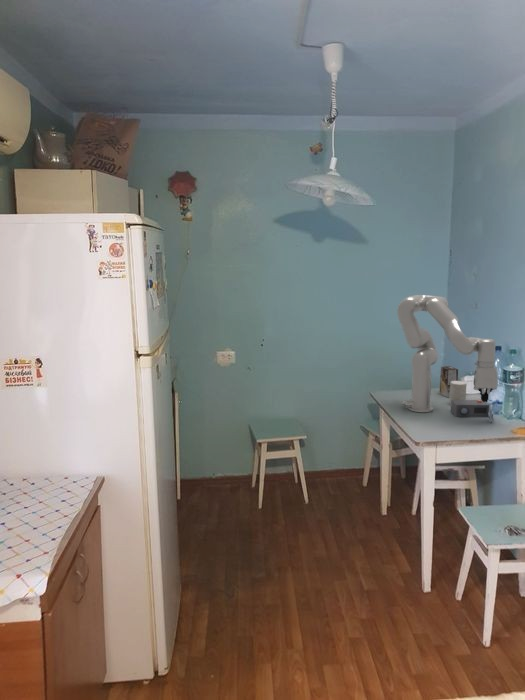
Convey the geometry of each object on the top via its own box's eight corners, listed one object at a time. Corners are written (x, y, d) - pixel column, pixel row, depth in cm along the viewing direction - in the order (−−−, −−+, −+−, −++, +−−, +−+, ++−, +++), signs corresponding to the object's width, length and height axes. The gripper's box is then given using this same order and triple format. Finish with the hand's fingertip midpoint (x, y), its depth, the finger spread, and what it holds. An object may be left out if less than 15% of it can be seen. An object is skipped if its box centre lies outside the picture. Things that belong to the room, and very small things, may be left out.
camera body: (456, 417, 263) (457, 404, 261) (450, 410, 273) (451, 398, 272) (489, 417, 262) (490, 404, 260) (482, 411, 272) (483, 398, 271)
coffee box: (457, 396, 299) (458, 369, 296) (446, 397, 297) (448, 369, 294) (448, 392, 307) (450, 365, 304) (438, 393, 306) (440, 366, 303)
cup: (450, 405, 282) (451, 384, 280) (448, 401, 290) (449, 380, 287) (466, 406, 280) (467, 384, 278) (464, 402, 288) (465, 381, 285)
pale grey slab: (492, 422, 253) (493, 410, 252) (489, 422, 254) (490, 410, 252) (492, 416, 262) (493, 404, 261) (489, 416, 263) (490, 404, 262)
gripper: (472, 366, 249) (471, 403, 252) (504, 365, 248) (503, 403, 251) (467, 363, 257) (466, 399, 260) (498, 362, 256) (497, 399, 259)
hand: (484, 401), depth 255 cm, fingers closed
